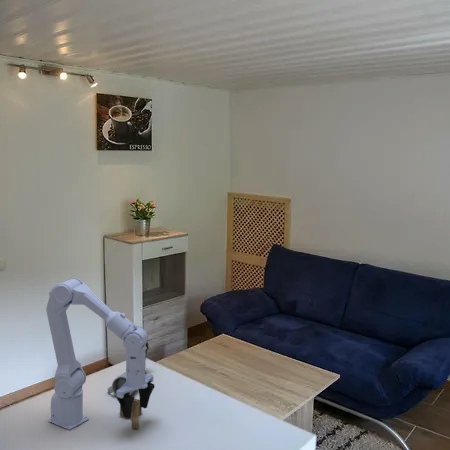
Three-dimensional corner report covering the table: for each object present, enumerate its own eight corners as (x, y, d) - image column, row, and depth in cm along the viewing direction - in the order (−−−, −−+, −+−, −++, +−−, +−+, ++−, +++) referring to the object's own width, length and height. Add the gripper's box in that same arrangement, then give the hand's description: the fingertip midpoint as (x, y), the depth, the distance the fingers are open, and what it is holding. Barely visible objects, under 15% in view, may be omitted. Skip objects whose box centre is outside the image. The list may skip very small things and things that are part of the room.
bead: (115, 415, 154) (115, 404, 153) (129, 407, 159) (129, 397, 159) (131, 420, 150) (131, 409, 150) (145, 412, 156) (145, 402, 156)
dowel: (129, 428, 146) (130, 404, 145) (134, 425, 148) (134, 401, 147) (135, 430, 145) (135, 406, 144) (140, 427, 147) (140, 403, 146)
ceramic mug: (141, 390, 173) (141, 369, 172) (132, 399, 165) (131, 378, 164) (113, 387, 175) (113, 366, 174) (103, 396, 167) (103, 375, 166)
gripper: (129, 379, 136) (129, 425, 138) (161, 363, 149) (160, 406, 150) (111, 374, 140) (111, 419, 141) (143, 359, 152) (143, 400, 154)
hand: (135, 412), depth 146 cm, fingers open, 7 cm apart
